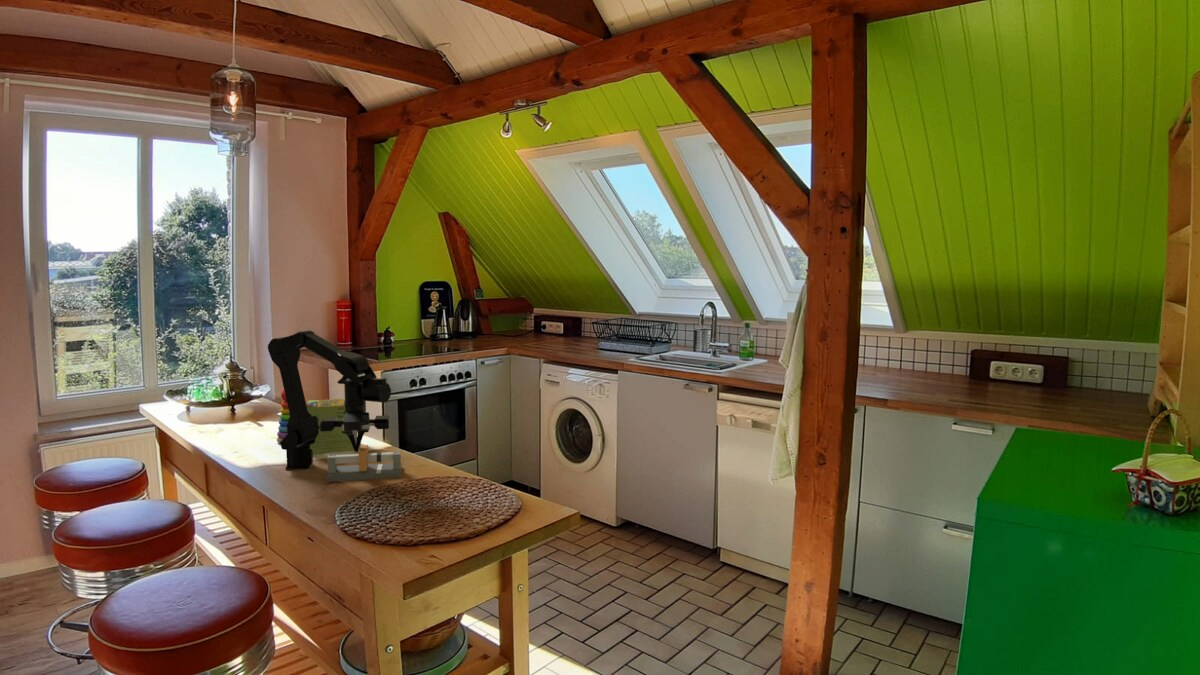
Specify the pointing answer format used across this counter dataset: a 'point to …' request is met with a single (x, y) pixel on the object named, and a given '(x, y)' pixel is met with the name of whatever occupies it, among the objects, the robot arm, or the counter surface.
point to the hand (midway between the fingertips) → (356, 452)
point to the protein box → (334, 438)
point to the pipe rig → (372, 471)
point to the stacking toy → (283, 419)
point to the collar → (363, 458)
